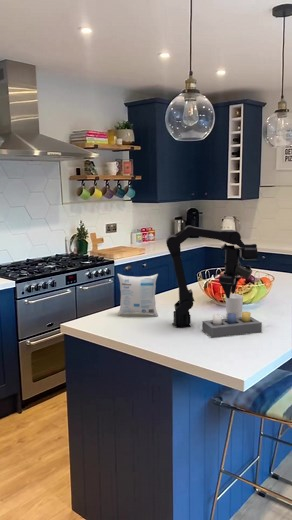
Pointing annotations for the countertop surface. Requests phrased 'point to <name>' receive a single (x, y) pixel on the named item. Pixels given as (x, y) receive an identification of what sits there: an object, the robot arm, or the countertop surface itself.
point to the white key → (217, 320)
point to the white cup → (234, 304)
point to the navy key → (231, 318)
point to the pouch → (137, 294)
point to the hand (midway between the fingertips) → (230, 295)
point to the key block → (231, 327)
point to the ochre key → (246, 317)
